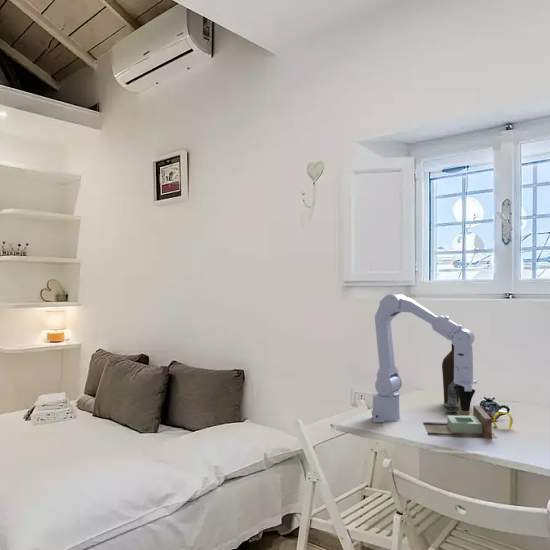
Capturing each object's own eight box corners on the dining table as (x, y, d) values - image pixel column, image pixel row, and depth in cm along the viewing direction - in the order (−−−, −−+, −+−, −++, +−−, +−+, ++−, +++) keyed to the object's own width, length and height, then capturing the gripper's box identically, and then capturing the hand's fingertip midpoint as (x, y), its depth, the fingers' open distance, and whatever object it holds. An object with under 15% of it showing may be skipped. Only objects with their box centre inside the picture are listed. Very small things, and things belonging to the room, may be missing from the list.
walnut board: (428, 438, 160) (428, 416, 160) (422, 423, 176) (422, 404, 176) (497, 440, 157) (496, 418, 157) (484, 425, 173) (484, 405, 173)
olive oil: (437, 403, 204) (436, 339, 204) (461, 401, 207) (460, 338, 207) (452, 409, 194) (451, 342, 194) (477, 407, 196) (476, 341, 196)
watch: (510, 428, 170) (511, 410, 170) (513, 431, 168) (514, 412, 168) (491, 427, 171) (492, 409, 171) (494, 429, 168) (495, 411, 168)
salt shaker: (462, 417, 184) (461, 383, 184) (445, 416, 185) (444, 382, 185) (459, 412, 189) (459, 380, 189) (443, 412, 190) (442, 379, 191)
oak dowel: (459, 415, 165) (459, 396, 165) (458, 412, 168) (457, 394, 168) (470, 415, 164) (470, 396, 164) (468, 413, 168) (468, 394, 168)
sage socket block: (452, 433, 163) (451, 423, 163) (447, 425, 171) (447, 415, 171) (482, 434, 161) (482, 424, 161) (475, 426, 170) (475, 416, 170)
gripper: (481, 371, 159) (482, 415, 159) (471, 363, 173) (472, 403, 173) (457, 370, 160) (458, 414, 160) (449, 362, 174) (450, 403, 174)
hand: (464, 409), depth 166 cm, fingers closed on oak dowel, 3 cm apart
